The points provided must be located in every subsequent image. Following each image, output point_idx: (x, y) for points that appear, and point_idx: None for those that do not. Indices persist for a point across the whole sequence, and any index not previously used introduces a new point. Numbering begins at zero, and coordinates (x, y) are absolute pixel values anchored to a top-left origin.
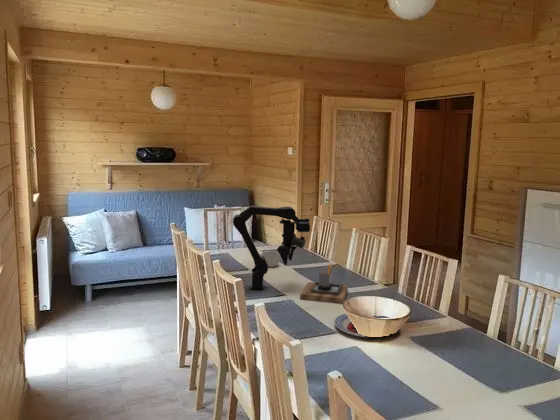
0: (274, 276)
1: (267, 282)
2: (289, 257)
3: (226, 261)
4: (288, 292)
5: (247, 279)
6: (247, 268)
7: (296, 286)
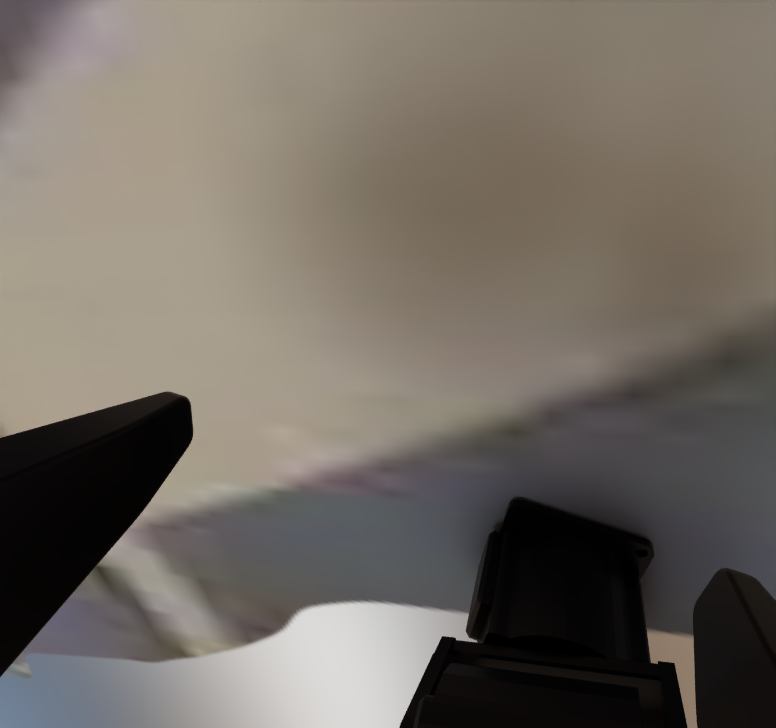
0: None
1: (358, 467)
2: (136, 494)
3: None
4: (747, 240)
5: (320, 597)
6: None
7: (438, 141)
